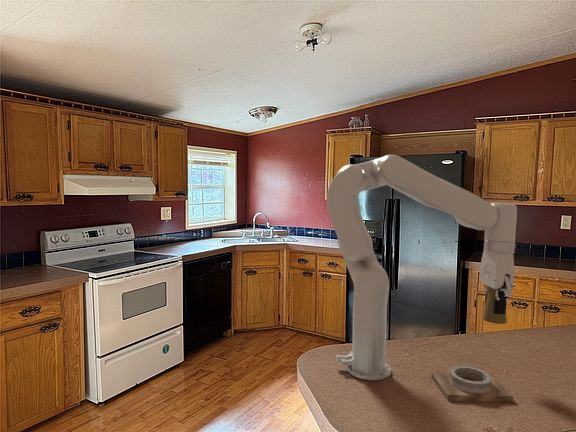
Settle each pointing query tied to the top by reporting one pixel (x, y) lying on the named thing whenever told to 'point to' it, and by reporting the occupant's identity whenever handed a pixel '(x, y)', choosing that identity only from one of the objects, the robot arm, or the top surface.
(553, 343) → the top surface
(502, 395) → the socket board
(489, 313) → the olive green peg
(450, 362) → the top surface
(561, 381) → the top surface
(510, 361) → the top surface
